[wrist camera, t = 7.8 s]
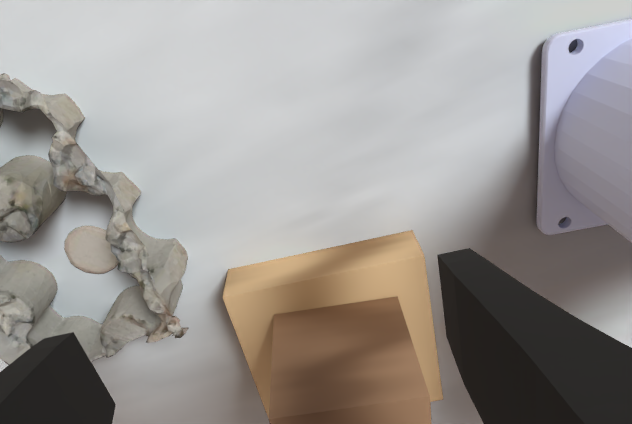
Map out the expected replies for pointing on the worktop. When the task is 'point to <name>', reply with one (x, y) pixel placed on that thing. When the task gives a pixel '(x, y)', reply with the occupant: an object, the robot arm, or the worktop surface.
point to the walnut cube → (346, 367)
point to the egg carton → (78, 243)
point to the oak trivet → (332, 297)
